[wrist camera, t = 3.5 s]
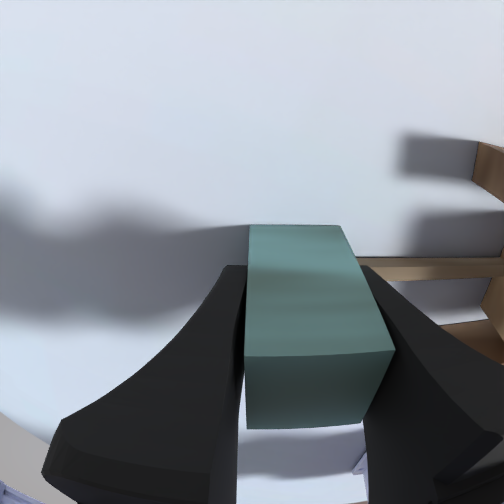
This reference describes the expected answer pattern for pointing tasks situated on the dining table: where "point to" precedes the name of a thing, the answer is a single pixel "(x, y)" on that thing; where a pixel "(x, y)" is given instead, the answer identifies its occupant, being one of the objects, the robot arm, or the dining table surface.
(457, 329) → the wooden u-shaped bracket
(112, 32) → the dining table surface
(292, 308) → the wooden blocks on rod
